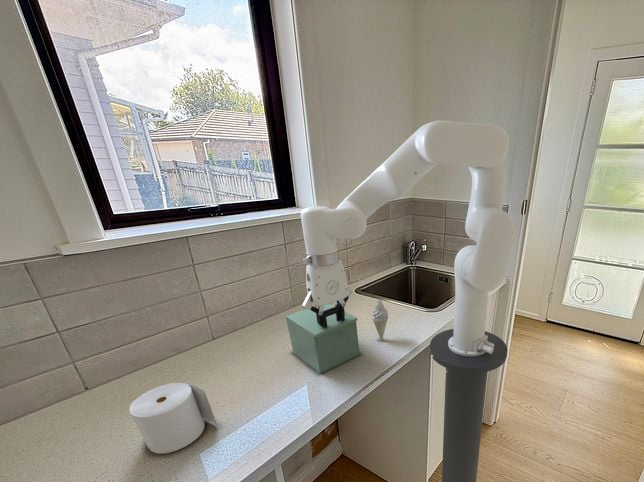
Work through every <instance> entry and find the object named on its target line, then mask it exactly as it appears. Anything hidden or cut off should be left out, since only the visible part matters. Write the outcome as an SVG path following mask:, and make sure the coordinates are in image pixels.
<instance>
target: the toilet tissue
mask: <svg viewBox="0 0 644 482" xmlns="http://www.w3.org/2000/svg"><path fill="white" fill-rule="evenodd" d="M129 413H130V415H131V417H132V419H133V421H134V423H135V424H136V427H137V429H138V430H139V432H140V435H141V436H142V439H143V440H144V443H145V444H146V446H147V448H148V449H149V450H150V451H151V452H152V453H155V454H158V455H159V454H169V453H172V452H176V451H179V450H181V449H183V448H185V447H187V446H188V445H190V444H192V443H193V442H194V441H196V440H197V439H198V438H199V437H200V436H201V435H202V433H203V432H204V430H205V427H206V426H205V424H206V423H205V421H204V419H206V420H208V421H209V422H212V423H214V425H218V423H217V420H216V418H215V415H214V413H213V409H212V407H211V404H210V402H209V399H208V396H207V393H206V391H205V390H203V388H200V387H198V386H196V385H194V384H189V383H185V382H172V383H166V384H163V385H159V386H157V387H154V388H152V389H149V390H147V391H146V392H144V393H143V394H140V395H139V396H138V397H137V398H136V399H135V400H133V401H132V403H131V404H130V406H129Z"/></svg>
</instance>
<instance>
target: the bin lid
mask: <svg viewBox="0 0 644 482" xmlns="http://www.w3.org/2000/svg"><path fill="white" fill-rule="evenodd" d="M339 312H340V308H339V307H338V306H336V307H335V305H332V303H330V304H327V305H324V309H323V314H325V317H326V323H327V327H326V328H323V327H321V326H320V325H318V323H317V317H316V313H315V312H313V311H311V310H308V309H306V308H304V309H301V310H299V311H296V312H293V313H290V314H287V315H285V319H286V318H287V319H288V320H290V321H291V322H293V323H294V324H296V325H297V326H299V327H300V328H302V329H303V330H305V331H306V332H308V333H309V334H311V335H312V336H314V337H318V336H320V335H323V334H325V333H328V332H330V331H332V330H335V329H337V328H340V327H342V326H345V325H347V324H350V323H352V322H355V321H356V322H357V321H358V317H357V316H354V315H352V314H351V313H348V312H347V311H345V320H344V321H341V320H340V318H339Z"/></svg>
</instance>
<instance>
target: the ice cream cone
mask: <svg viewBox="0 0 644 482" xmlns="http://www.w3.org/2000/svg"><path fill="white" fill-rule="evenodd" d="M371 319H372V322H373V324H374V327H375V330H376V331H377V335H378V337H379V339H380V341H383V339H384V335H385V332H386V331H385V330H386V327H387V322H388V319H389V313H388V310H387V308H385V304H383V302H382V300H381V298H380V297H378V299H377V303H376V304H375V308H374V310H373V311H372V318H371Z"/></svg>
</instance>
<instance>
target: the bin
mask: <svg viewBox="0 0 644 482" xmlns="http://www.w3.org/2000/svg"><path fill="white" fill-rule="evenodd" d="M285 320H286V324H287V329H288V334H289V339H290V343H291V350H292V353H293V354H294V355H295V356H297V357H298V358H299V359H301V360H302V361H303V362H304V363H306V364H307V365H308V366H309V367H311V368H312V369H314V370H315V371H316V372H317V373H318V374H322V373H324V372H326V371H329V370H330V369H333V368H334V367H337V366H339V365H341V364H343V363H345V362H347V361H349V360H352V359H353V358H355V357H357V356H359V355H360V346H359V345H360V344H359V336H358V327H357V321H355V322H352V323H350V324H347V325H345V326H342V327H340V328H337V329H335V330H332V331H330V332H328V333H325V334H323V335H320V336H318V337H314V336H312V335H311V334H309V333H308V332H306V331H305V330H303V329H302V328H300V327H299V326H297V325H296V324H294V323H293V322H291V321H290V320H288V319H287V318H286V317H285Z"/></svg>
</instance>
